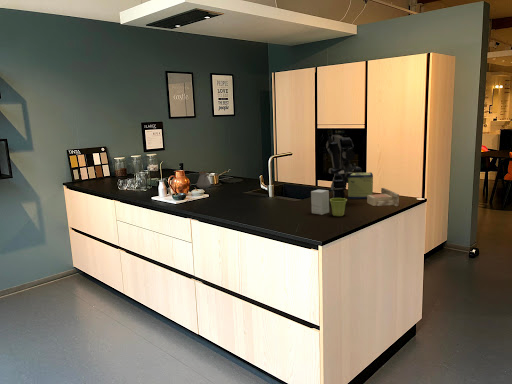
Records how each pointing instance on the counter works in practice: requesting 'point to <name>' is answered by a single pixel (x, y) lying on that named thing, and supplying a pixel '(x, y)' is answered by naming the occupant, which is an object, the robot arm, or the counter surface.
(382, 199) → the beige rectangular block
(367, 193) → the protein box
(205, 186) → the coffee pot
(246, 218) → the counter surface
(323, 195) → the supplement box
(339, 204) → the plant pot
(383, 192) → the display nook
